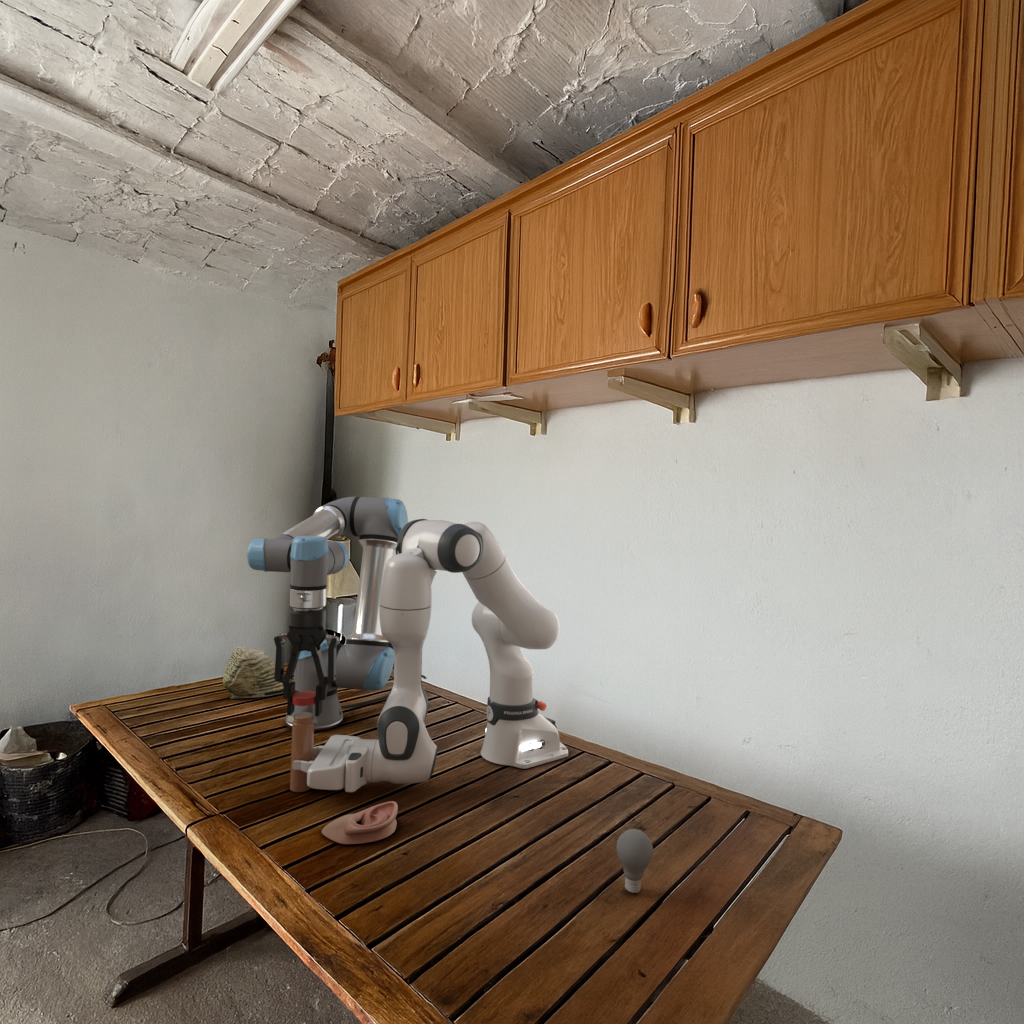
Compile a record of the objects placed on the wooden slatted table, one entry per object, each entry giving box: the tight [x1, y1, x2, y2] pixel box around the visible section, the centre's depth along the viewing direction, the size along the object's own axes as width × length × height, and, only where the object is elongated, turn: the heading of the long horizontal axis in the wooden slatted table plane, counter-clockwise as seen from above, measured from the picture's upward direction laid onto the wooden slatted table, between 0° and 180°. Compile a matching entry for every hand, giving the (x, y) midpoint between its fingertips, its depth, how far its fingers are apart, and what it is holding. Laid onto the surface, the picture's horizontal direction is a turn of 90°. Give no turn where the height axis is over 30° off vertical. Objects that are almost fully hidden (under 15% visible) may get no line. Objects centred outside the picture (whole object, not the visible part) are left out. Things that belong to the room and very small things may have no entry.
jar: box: [289, 712, 315, 793], centre depth 137 cm, size 5×5×16 cm
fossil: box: [222, 646, 283, 699], centre depth 198 cm, size 9×18×15 cm, turn 132°
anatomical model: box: [321, 800, 399, 845], centre depth 121 cm, size 13×4×12 cm
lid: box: [292, 691, 316, 706], centre depth 138 cm, size 5×5×2 cm
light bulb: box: [615, 828, 654, 894], centre depth 106 cm, size 6×6×10 cm
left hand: (304, 713), depth 138 cm, fingers closed on lid, 5 cm apart
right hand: (297, 758), depth 137 cm, fingers closed on jar, 4 cm apart
